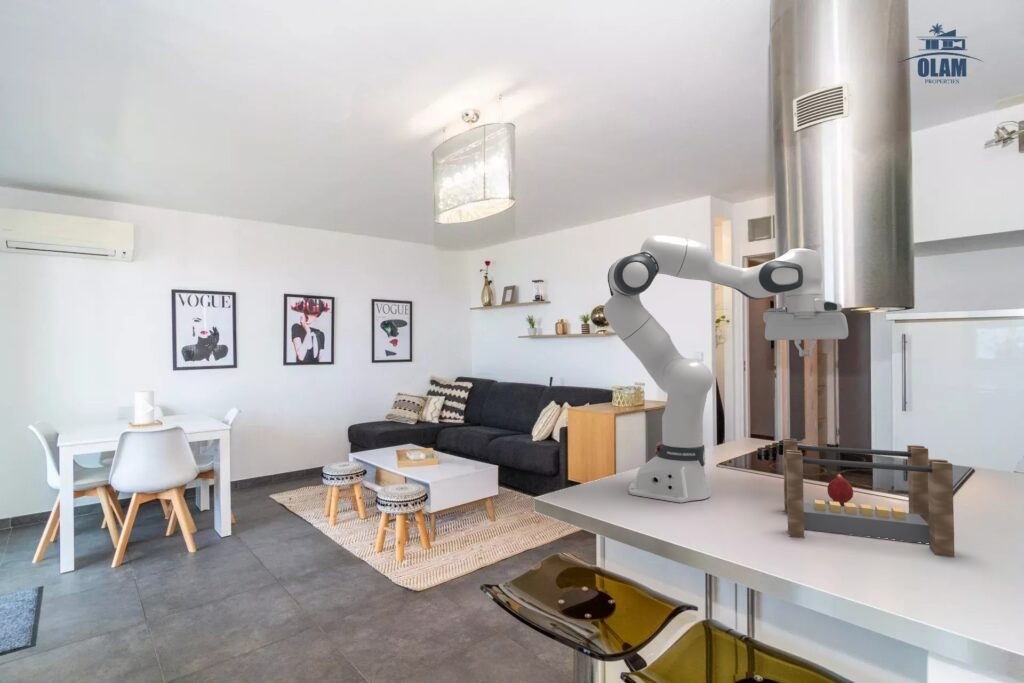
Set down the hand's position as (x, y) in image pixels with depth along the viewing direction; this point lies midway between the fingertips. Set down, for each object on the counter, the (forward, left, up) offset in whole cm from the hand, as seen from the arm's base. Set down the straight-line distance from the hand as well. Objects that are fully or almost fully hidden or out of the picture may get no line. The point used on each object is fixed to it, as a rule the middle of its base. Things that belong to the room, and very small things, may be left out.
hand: (805, 356), depth 144 cm
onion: (+7, -5, -39) cm, 40 cm away
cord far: (+8, -17, -23) cm, 30 cm away
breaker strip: (+8, -25, -39) cm, 47 cm away
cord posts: (+8, -25, -39) cm, 47 cm away
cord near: (+8, -33, -23) cm, 41 cm away
